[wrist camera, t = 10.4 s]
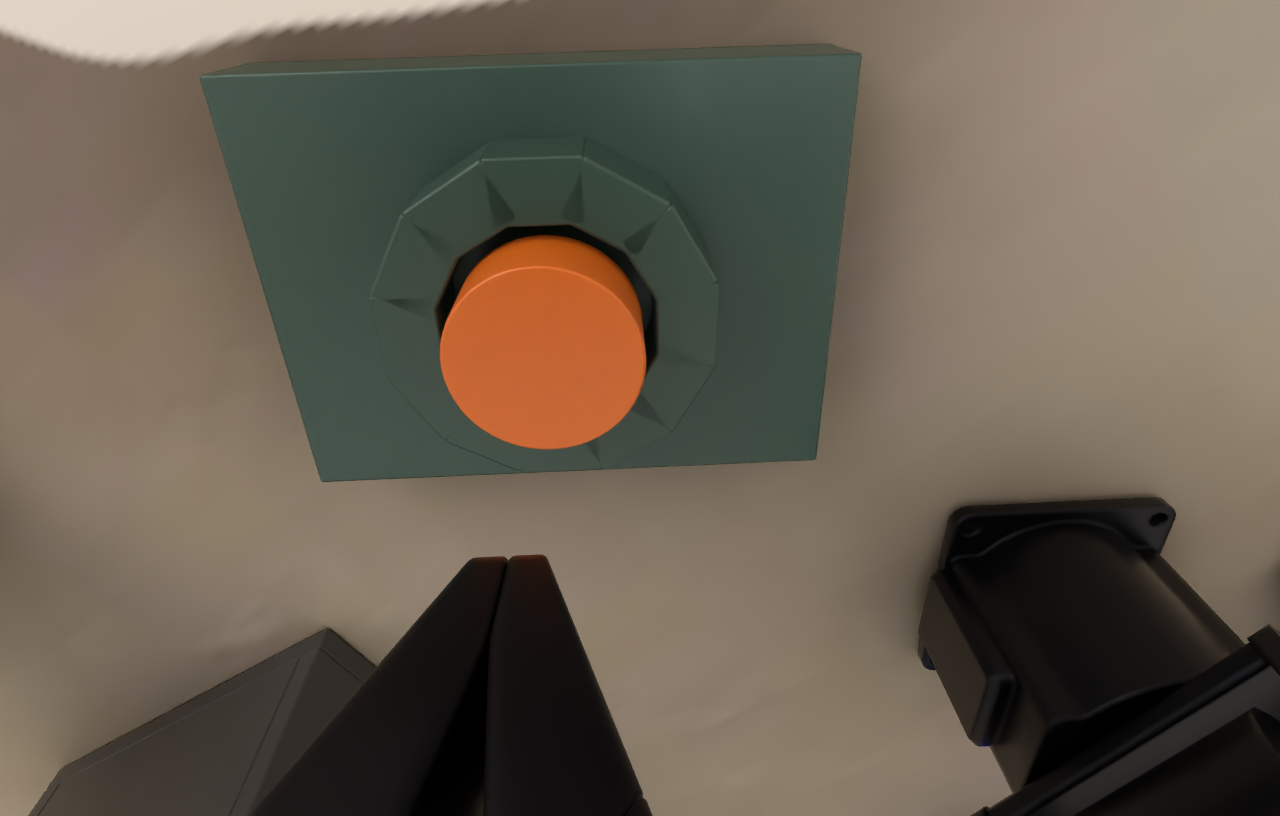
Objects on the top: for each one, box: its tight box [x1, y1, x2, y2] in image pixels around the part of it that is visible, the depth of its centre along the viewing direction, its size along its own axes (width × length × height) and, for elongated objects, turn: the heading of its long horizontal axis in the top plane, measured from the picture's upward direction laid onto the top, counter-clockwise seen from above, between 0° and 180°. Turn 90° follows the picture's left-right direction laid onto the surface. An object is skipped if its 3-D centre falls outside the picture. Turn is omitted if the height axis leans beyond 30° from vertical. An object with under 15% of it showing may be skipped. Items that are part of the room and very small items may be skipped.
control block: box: [200, 44, 862, 482], centre depth 16 cm, size 12×9×4 cm
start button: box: [440, 235, 646, 449], centre depth 14 cm, size 4×4×2 cm
